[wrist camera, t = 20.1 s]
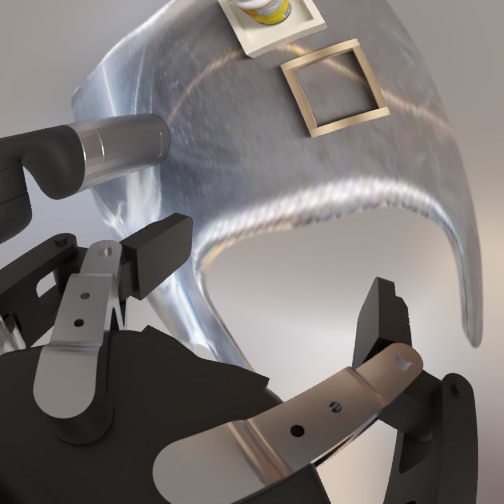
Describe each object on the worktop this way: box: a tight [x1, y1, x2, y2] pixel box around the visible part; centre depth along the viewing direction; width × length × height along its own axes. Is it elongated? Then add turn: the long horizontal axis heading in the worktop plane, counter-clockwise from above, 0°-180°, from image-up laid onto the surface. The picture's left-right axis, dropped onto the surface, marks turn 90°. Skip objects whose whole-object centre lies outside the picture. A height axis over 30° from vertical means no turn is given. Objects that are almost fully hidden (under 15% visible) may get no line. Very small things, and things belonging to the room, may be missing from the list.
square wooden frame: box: [280, 39, 390, 138], centre depth 30 cm, size 10×10×2 cm
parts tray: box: [218, 0, 328, 58], centre depth 27 cm, size 11×11×2 cm
